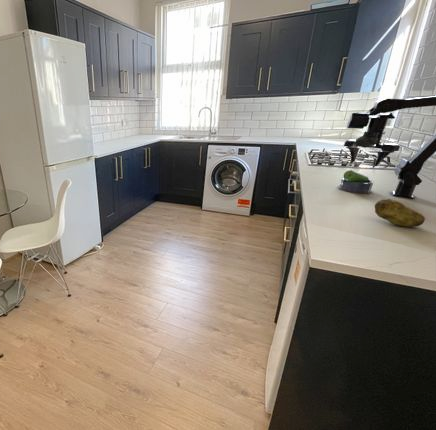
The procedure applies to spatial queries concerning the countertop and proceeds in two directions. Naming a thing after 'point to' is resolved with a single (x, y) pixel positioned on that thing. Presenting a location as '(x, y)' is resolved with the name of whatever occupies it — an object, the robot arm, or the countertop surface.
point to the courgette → (355, 177)
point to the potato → (398, 213)
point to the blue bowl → (355, 186)
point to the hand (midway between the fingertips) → (364, 164)
